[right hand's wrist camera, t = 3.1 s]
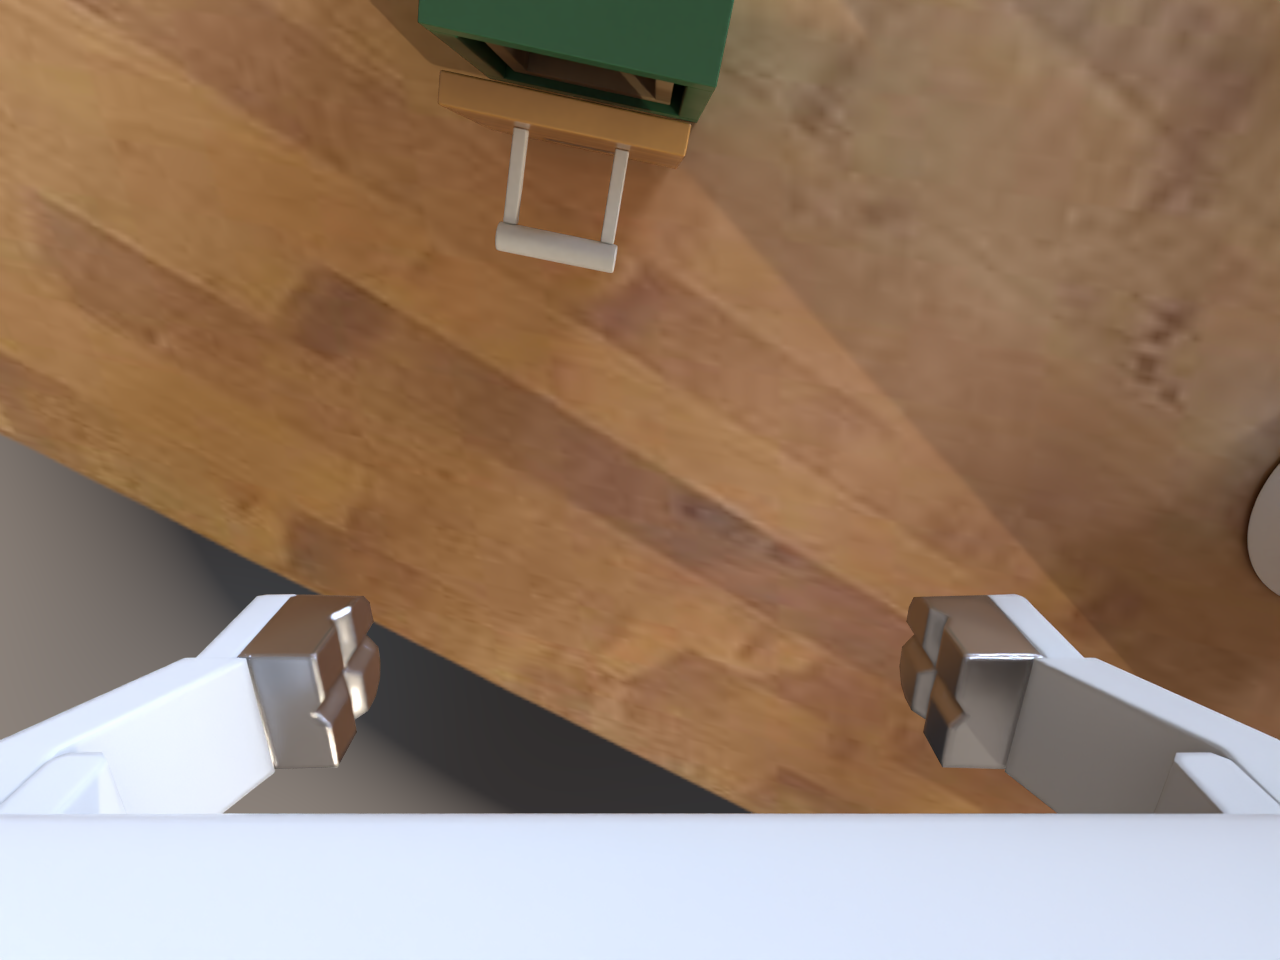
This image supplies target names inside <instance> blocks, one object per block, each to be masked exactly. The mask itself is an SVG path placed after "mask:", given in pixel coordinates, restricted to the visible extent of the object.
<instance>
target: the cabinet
mask: <svg viewBox="0 0 1280 960" xmlns="http://www.w3.org/2000/svg"><path fill="white" fill-rule="evenodd" d="M733 3H734V0H419V9H418V23H420V24H421V25H422V26H423V27H425V28H426V29H428V30H429V31H431V32H432V33H433V34H434V35H436V36H437V37H438V38H439V39H441V40H442V41H443V42H444V43H446V44H447V45H448V46H450V47H451V48H452V49H453V50H455V51H456V52H457V53H458V54H460V55H461V56H462V57H463V58H465V59H466V60H467V61H469V62H470V63H471V64H472V65H474V66H475V67H476V68H477V69H479V70H480V71H481V72H482V73H484V74H485V75H486V76H487V77H488V78H491V79H495V80H500V81H505V82H509V83H514V84H519V85H523V86H528V87H533V88H537V89H542V90H546V91H551V92H556V93H560V94H565V95H570V96H574V97H579V98H584V99H588V100H593V101H597V102H602V103H607V104H611V105H616V106H621V107H625V108H630V109H635V110H639V111H644V112H648V113H653V114H658V115H662V116H667V117H672V118H676V119H681V120H686V121H690V122H695V123H697V121H698V120H699V118H700V116H701V114H702V112H703V110H704V108H705V106H706V104H707V103H708V101H709V99H710V97H711V95H712V93H713V92H714V90H715V88H716V86H717V81H718V77H719V72H720V67H721V62H722V57H723V52H724V47H725V42H726V38H727V33H728V28H729V23H730V18H731V13H732V8H733ZM485 42H487V43H492V44H496V45H501V46H505V47H510V48H515V49H519V50H524V51H528V52H533V53H537V54H542V55H547V56H551V57H556V58H560V59H565V60H569V61H574V62H579V63H583V64H588V65H592V66H597V67H602V68H606V69H611V70H615V71H620V72H624V73H629V74H634V75H638V76H643V77H647V78H652V79H656V80H661V81H666V82H670V83H674V87H673V92H672V98H671V103H670V105H667V104H662V103H658V102H653V101H648V100H644V99H639V98H634V97H630V96H625V95H621V94H616V93H611V92H607V91H602V90H597V89H593V88H588V87H584V86H579V85H574V84H570V83H565V82H561V81H556V80H551V79H547V78H542V77H537V76H533V75H528V74H524V73H519V72H515V71H514V70H513V69H512V68H511V67H510V66H508V65H507V64H506V63H505V62H504V61H503V60H502V59H501V58H500V57H499V56H498V55H497V54H496V53H495V52H494V51H493V50H492V49H491V48H490V47H489V46H488V45H487V44H486V43H485Z"/></svg>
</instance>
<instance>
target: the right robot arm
mask: <svg viewBox="0 0 1280 960" xmlns="http://www.w3.org/2000/svg"><path fill="white" fill-rule="evenodd" d="M1247 543H1248V552H1249V557H1250V561H1251V563H1252V566H1253V568H1254V570H1255V572H1256V574H1257V575H1258V577H1259V578H1260V579H1261V581H1262V582H1263V583H1264V584H1265V585H1266V586H1267V587H1268V588H1269V589H1270V590H1272V591H1273V592H1274V593H1276V594H1277V595H1279V596H1280V463H1279V465H1278V466H1277V467H1276V468H1275V470H1274V471H1273V472H1272V474H1271V475H1270V476H1269V478H1268V479H1267V481H1266V483H1265V484H1264V486H1263V488H1262V490H1261V491H1260V493H1259V495H1258V497H1257V500H1256V502H1255V504H1254V507H1253V510H1252V513H1251V517H1250V521H1249V526H1248V536H1247ZM373 622H374V621H373V616H372V612H371V607H370V602H369V601H368V600H367V599H366V598H365V597H364V596H336V595H294V594H283V595H282V594H281V595H262V596H257V597H256V598H255V599H254V600H253V601H252V602H251V603H250V604H249V605H248V606H247V607H246V608H245V609H244V610H243V611H242V612H241V613H240V614H239V615H238V616H237V617H236V618H235V619H234V620H233V621H232V622H231V623H230V624H229V625H228V626H227V627H226V628H225V629H224V630H223V631H222V632H221V633H220V634H219V635H218V636H217V637H216V638H215V639H214V640H213V641H212V642H211V643H210V644H209V645H208V646H207V647H206V648H205V649H204V650H203V651H202V652H201V653H200V654H199V655H198V656H197V657H196V658H183V659H181V660H179V661H177V662H174V663H172V664H170V665H168V666H165V667H163V668H161V669H159V670H156V671H154V672H152V673H150V674H147V675H145V676H143V677H141V678H138V679H136V680H134V681H132V682H129V683H127V684H125V685H123V686H120V687H118V688H116V689H114V690H111V691H109V692H107V693H105V694H102V695H100V696H98V697H96V698H93V699H91V700H89V701H87V702H84V703H82V704H80V705H78V706H76V707H73V708H71V709H69V710H67V711H64V712H62V713H60V714H58V715H55V716H53V717H51V718H49V719H46V720H44V721H42V722H40V723H37V724H35V725H33V726H31V727H28V728H26V729H24V730H22V731H19V732H17V733H15V734H13V735H10V736H8V737H6V738H4V739H2V740H0V960H1280V740H1278V739H1276V738H1274V737H1271V736H1269V735H1267V734H1265V733H1262V732H1260V731H1258V730H1256V729H1253V728H1251V727H1249V726H1247V725H1244V724H1242V723H1240V722H1238V721H1235V720H1233V719H1231V718H1229V717H1227V716H1224V715H1222V714H1220V713H1218V712H1215V711H1213V710H1211V709H1209V708H1206V707H1204V706H1202V705H1200V704H1197V703H1195V702H1193V701H1191V700H1189V699H1186V698H1184V697H1182V696H1180V695H1177V694H1175V693H1173V692H1171V691H1168V690H1166V689H1164V688H1162V687H1159V686H1157V685H1155V684H1153V683H1150V682H1148V681H1146V680H1144V679H1142V678H1139V677H1137V676H1135V675H1133V674H1130V673H1128V672H1126V671H1124V670H1121V669H1119V668H1117V667H1115V666H1112V665H1110V664H1108V663H1106V662H1103V661H1101V660H1099V659H1097V658H1084V657H1083V656H1082V655H1081V654H1080V653H1079V652H1078V651H1077V650H1076V649H1075V648H1074V647H1073V646H1072V645H1071V644H1070V643H1069V642H1068V641H1067V640H1066V639H1065V638H1064V637H1063V636H1062V635H1061V634H1060V633H1059V632H1058V631H1057V630H1056V629H1055V628H1054V627H1053V626H1052V625H1051V624H1050V623H1049V622H1048V621H1047V620H1046V619H1045V618H1044V617H1043V616H1042V615H1041V614H1040V613H1039V612H1038V611H1037V610H1036V609H1035V608H1034V607H1033V606H1032V605H1031V604H1030V603H1029V602H1028V601H1027V600H1026V599H1025V598H1024V597H1022V596H1019V595H1017V594H1003V595H975V596H934V597H914V598H913V600H912V602H911V604H910V606H909V610H908V616H907V621H906V622H907V623H908V625H909V626H910V628H911V630H912V631H913V633H914V635H913V636H912V637H911V638H910V639H909V640H908V641H907V642H906V643H905V644H904V645H903V646H902V651H901V659H900V677H901V686H902V689H903V692H904V696H905V698H906V700H907V702H908V704H909V706H910V708H911V710H912V711H914V712H915V713H917V714H918V715H920V716H921V717H923V718H924V719H926V721H925V726H924V731H923V732H924V734H925V736H926V738H927V740H928V742H929V743H930V745H931V747H932V749H933V751H934V753H935V754H936V756H937V758H938V760H939V762H940V763H941V765H942V767H952V768H989V769H1005V772H1006V773H1007V774H1008V775H1010V776H1011V777H1012V778H1013V779H1015V780H1016V781H1017V782H1018V783H1020V784H1021V785H1022V786H1024V787H1025V788H1026V789H1027V790H1029V791H1030V792H1031V793H1032V794H1034V795H1035V796H1036V797H1038V798H1039V799H1040V800H1041V801H1043V802H1044V803H1045V804H1046V805H1048V806H1049V807H1050V808H1052V809H1053V810H1054V811H1055V812H1057V813H1058V814H222V813H224V812H225V811H226V810H227V809H229V808H230V807H231V806H232V805H234V804H235V803H236V802H238V801H239V800H240V799H241V798H243V797H244V796H245V795H247V794H248V793H249V792H250V791H252V790H253V789H254V788H255V787H257V786H258V785H259V784H260V783H262V782H263V781H264V780H266V779H267V778H268V777H269V776H271V775H272V774H273V773H274V772H275V769H290V768H326V767H338V765H339V764H340V762H341V760H342V758H343V756H344V754H345V753H346V751H347V749H348V747H349V745H350V743H351V742H352V740H353V738H354V736H355V734H356V732H357V731H356V726H355V721H354V719H356V718H357V717H359V716H360V715H362V714H363V713H365V712H366V711H368V710H369V708H370V706H371V704H372V702H373V700H374V698H375V696H376V692H377V688H378V683H379V679H380V657H379V651H378V646H377V645H376V644H375V643H374V642H373V641H372V640H371V639H370V638H369V637H368V636H367V635H366V633H367V631H368V630H369V628H370V626H371V625H372V623H373Z"/></svg>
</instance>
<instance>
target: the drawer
mask: <svg viewBox="0 0 1280 960" xmlns="http://www.w3.org/2000/svg"><path fill="white" fill-rule="evenodd" d="M485 43H486V44H487V45H488V46H489V47H490V48H491V49H492V50H493V51H494V52H495V53H496V54H497V55H498V56H499V57H500V58H501V59H502V60H503V61H504V62H505V63H506V64H507V65H508V66H510V67H511V68H512V69H513V70H514V71H515V72H519V73H524V74H528V75H533V76H537V77H542V78H547V79H551V80H556V81H561V82H565V83H570V84H574V85H579V86H584V87H588V88H593V89H597V90H602V91H607V92H611V93H616V94H621V95H625V96H630V97H634V98H639V99H644V100H648V101H653V102H658V103H662V104H667V105H670V103H671V98H672V92H673V87H674V83H670V82H666V81H661V80H656V79H652V78H647V77H643V76H638V75H634V74H629V73H624V72H620V71H615V70H611V69H606V68H602V67H597V66H592V65H588V64H583V63H579V62H574V61H569V60H565V59H560V58H556V57H551V56H547V55H542V54H537V53H533V52H528V51H524V50H519V49H515V48H510V47H505V46H501V45H496V44H492V43H487V42H485ZM438 104H439V105H441V106H443V107H445V108H447V109H449V110H451V111H454V112H456V113H458V114H460V115H462V116H464V117H466V118H468V119H470V120H472V121H475V122H477V123H479V124H481V125H483V126H485V127H487V128H489V129H491V130H495V131H500V132H505V133H509V134H513V137H512V146H511V155H510V164H509V173H508V182H507V192H506V201H505V210H504V219H503V221H504V222H502V221H501V222H499V224H498V227H497V231H496V238H495V245H496V249H497V250H499V251H504V252H509V253H514V254H519V255H524V256H529V257H534V258H539V259H544V260H549V261H554V262H558V263H563V264H568V265H573V266H578V267H583V268H588V269H593V270H598V271H603V272H608V273H613V271H614V266H615V261H616V255H617V248H618V247H617V245H614V244H613V243H614V240H615V234H616V228H617V222H618V216H619V210H620V204H621V198H622V192H623V186H624V181H625V175H626V169H627V163H628V159H632V160H637V161H642V162H646V163H651V164H656V165H661V166H665V167H670V168H675V169H676V168H677V167H678V165H679V164H680V162H681V161H682V159H683V158H684V156H685V155H686V150H687V145H688V140H689V134H690V129H691V124H690V123H686V122H681V121H676V120H672V119H667V118H663V117H658V116H653V115H649V114H644V113H639V112H635V111H630V110H625V109H621V108H616V107H612V106H607V105H602V104H598V103H593V102H588V101H584V100H579V99H574V98H570V97H565V96H560V95H556V94H551V93H547V92H542V91H537V90H533V89H528V88H523V87H519V86H514V85H509V84H505V83H500V82H496V81H491V80H486V79H482V78H477V77H472V76H468V75H463V74H458V73H454V72H449V71H444V70H441V71H440V78H439V92H438ZM528 138H533V139H538V140H542V141H547V142H552V143H557V144H561V145H566V146H571V147H575V148H580V149H585V150H590V151H594V152H599V153H604V154H609V155H613V156H614V161H613V167H612V173H611V179H610V186H609V192H608V198H607V204H606V210H605V217H604V223H603V229H602V235H601V242H600V241H595V240H590V239H585V238H580V237H575V236H570V235H565V234H561V233H556V232H551V231H546V230H541V229H536V228H531V227H526V226H521V225H516V224H518V220H519V212H520V203H521V195H522V186H523V178H524V169H525V161H526V152H527V144H528Z"/></svg>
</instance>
